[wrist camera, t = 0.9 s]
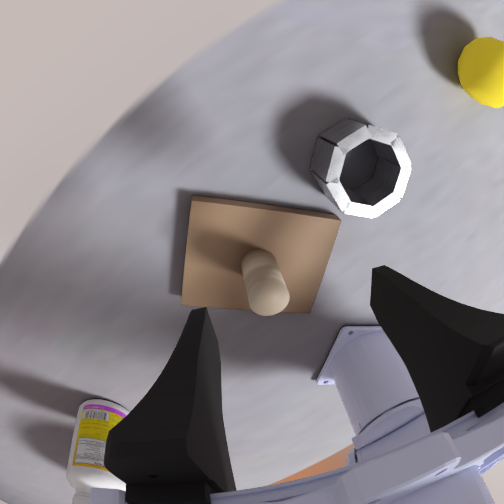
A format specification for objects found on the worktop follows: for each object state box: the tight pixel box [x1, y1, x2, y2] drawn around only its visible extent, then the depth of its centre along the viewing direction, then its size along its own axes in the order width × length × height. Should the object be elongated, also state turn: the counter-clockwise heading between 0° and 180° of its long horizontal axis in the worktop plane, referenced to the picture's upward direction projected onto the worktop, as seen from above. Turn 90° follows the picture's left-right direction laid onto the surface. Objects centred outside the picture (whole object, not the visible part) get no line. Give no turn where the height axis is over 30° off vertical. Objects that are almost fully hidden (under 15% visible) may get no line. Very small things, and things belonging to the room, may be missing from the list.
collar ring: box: [310, 119, 412, 218], centre depth 19 cm, size 6×6×3 cm
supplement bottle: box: [66, 399, 129, 504], centre depth 25 cm, size 7×7×13 cm
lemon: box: [458, 37, 504, 108], centre depth 15 cm, size 7×5×5 cm
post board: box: [181, 195, 341, 316], centre depth 21 cm, size 10×8×5 cm
